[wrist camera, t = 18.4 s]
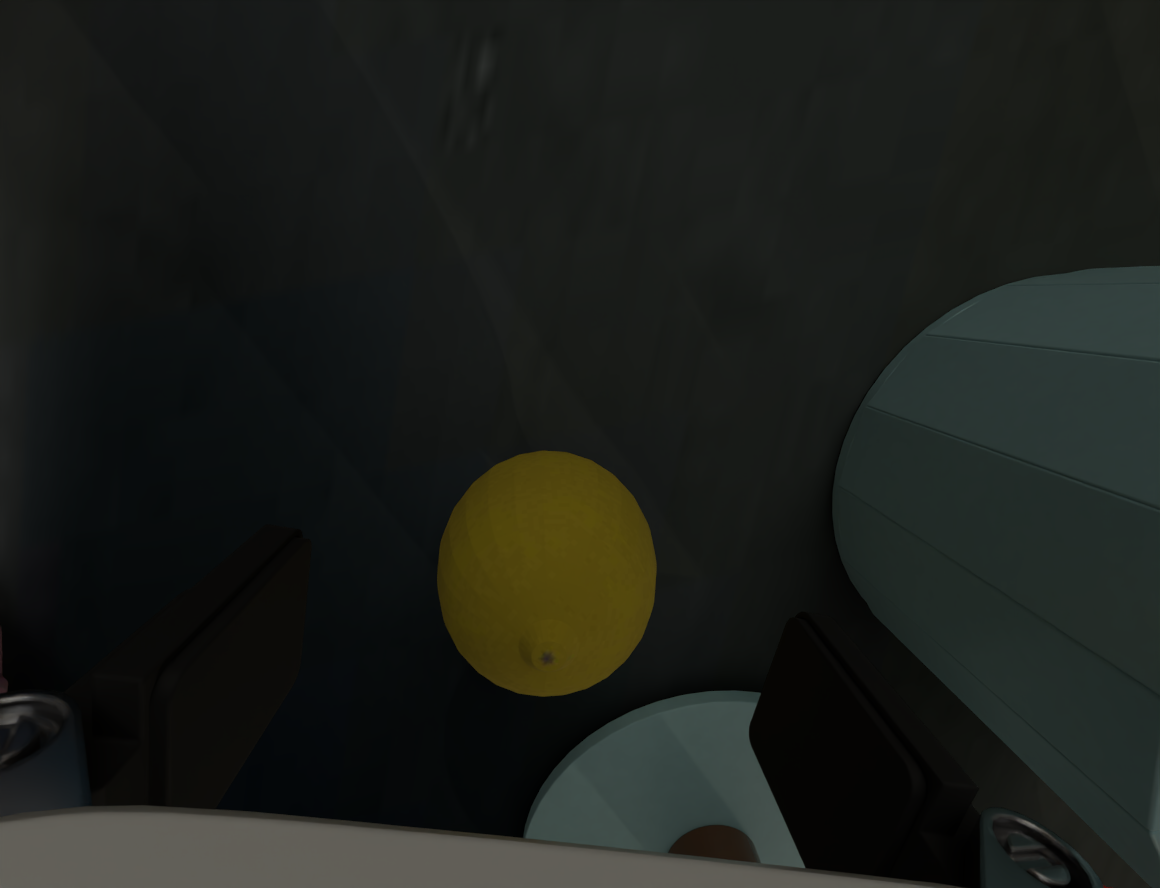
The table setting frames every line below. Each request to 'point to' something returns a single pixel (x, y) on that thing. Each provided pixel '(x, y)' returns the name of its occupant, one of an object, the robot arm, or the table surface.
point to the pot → (1028, 529)
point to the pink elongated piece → (0, 682)
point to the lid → (668, 785)
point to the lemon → (546, 574)
